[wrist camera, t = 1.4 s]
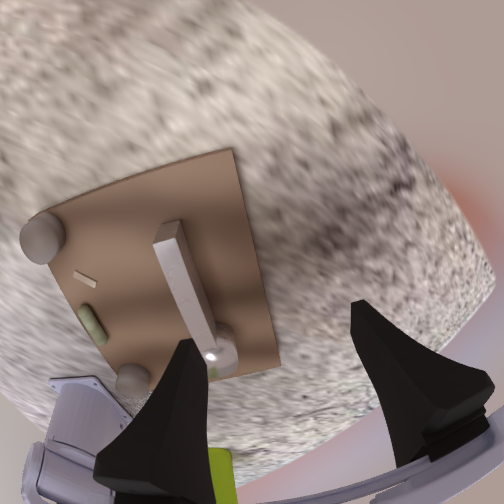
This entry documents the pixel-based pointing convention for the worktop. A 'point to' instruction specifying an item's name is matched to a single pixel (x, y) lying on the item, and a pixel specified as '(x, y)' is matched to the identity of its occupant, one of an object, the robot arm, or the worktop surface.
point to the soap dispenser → (222, 476)
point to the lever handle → (194, 301)
